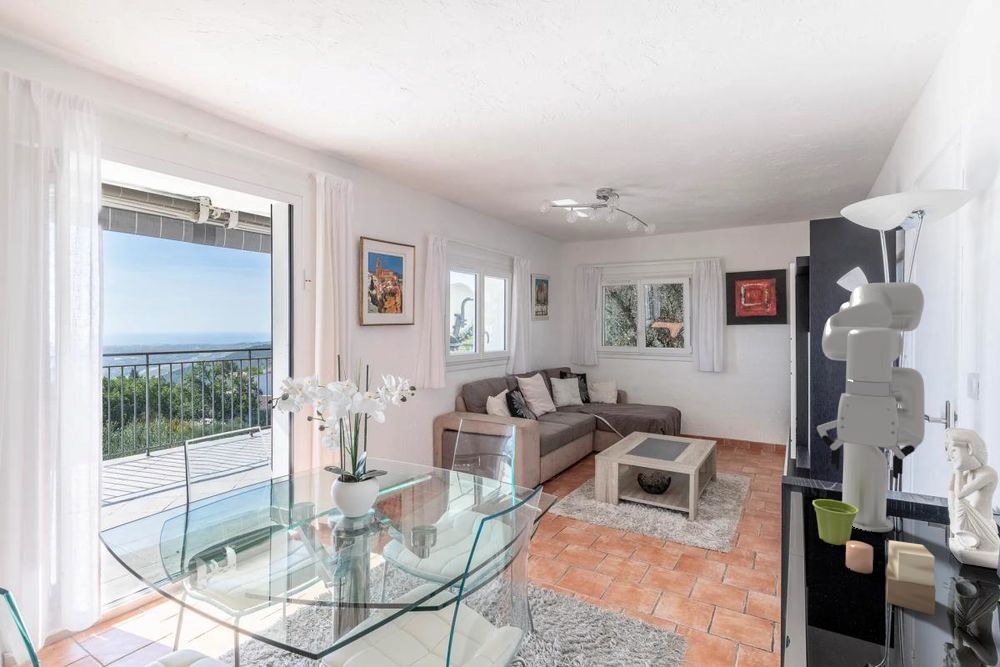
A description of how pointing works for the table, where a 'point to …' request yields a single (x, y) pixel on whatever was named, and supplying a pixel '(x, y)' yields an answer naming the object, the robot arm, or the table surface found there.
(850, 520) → the plant pot
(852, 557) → the peach rounded solid
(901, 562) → the beech block
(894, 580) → the walnut block
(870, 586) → the table surface
